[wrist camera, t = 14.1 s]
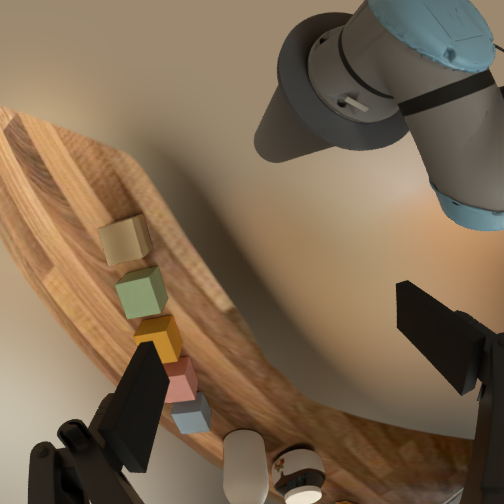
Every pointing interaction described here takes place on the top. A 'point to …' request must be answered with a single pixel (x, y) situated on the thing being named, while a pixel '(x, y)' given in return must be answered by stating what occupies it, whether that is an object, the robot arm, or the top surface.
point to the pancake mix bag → (343, 502)
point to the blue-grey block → (192, 415)
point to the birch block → (125, 240)
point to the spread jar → (298, 475)
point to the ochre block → (161, 337)
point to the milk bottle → (245, 468)
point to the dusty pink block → (181, 381)
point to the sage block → (142, 292)
